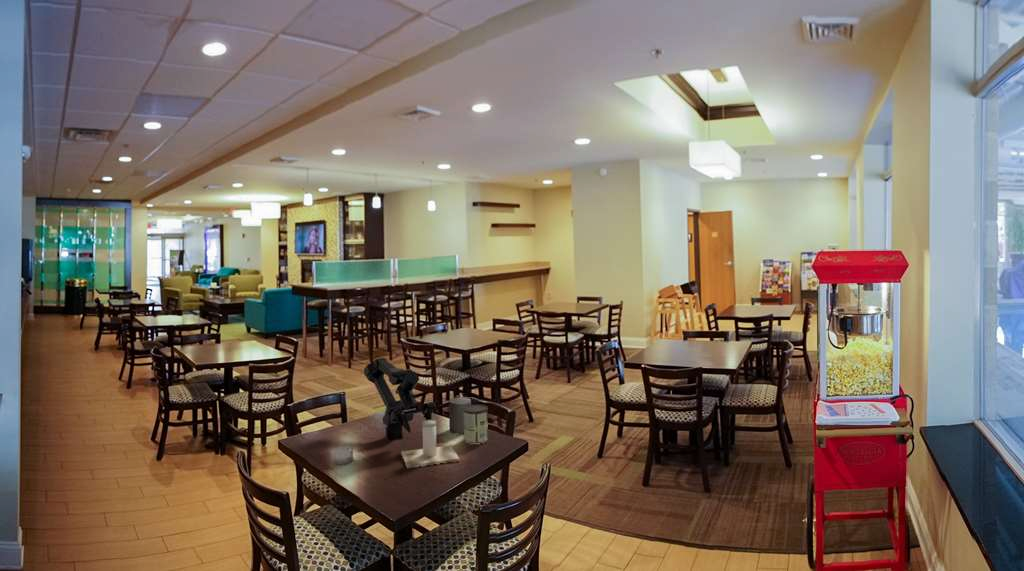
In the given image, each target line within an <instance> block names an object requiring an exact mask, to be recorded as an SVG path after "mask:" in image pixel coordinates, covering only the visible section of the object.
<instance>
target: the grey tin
mask: <svg viewBox="0 0 1024 571" xmlns="http://www.w3.org/2000/svg"><path fill="white" fill-rule="evenodd" d="M333 460H334V461H333V462H334V465H335V466H338V465H339V467H341V466H342V465H344V466H348V464H349V465H351V464H353V463H352V462H354V447H352V446H340V447H336V448H335V449H334V450H333ZM342 467H343V466H342Z"/></svg>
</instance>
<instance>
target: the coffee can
mask: <svg viewBox="0 0 1024 571" xmlns="http://www.w3.org/2000/svg"><path fill="white" fill-rule="evenodd" d="M463 411H464V433H463V437H464V438H463V441H465V442H466V443H465V442H464V443H465V444H467V443H469V444H468V445H474V444H476V445H481V444H480V443H483V444H485V443H484V442H486V441H487V440H488V441H489V434H488V432H489V431H488V430H489V429H488V428H489V427H488V426H489V424H488V423H489V422H488V418H489V417H488V411H489V408H488V406H487V405H483V404H471V405H469V406H466V407H464V408H463ZM488 441H487V442H488ZM487 442H486V443H487Z"/></svg>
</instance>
